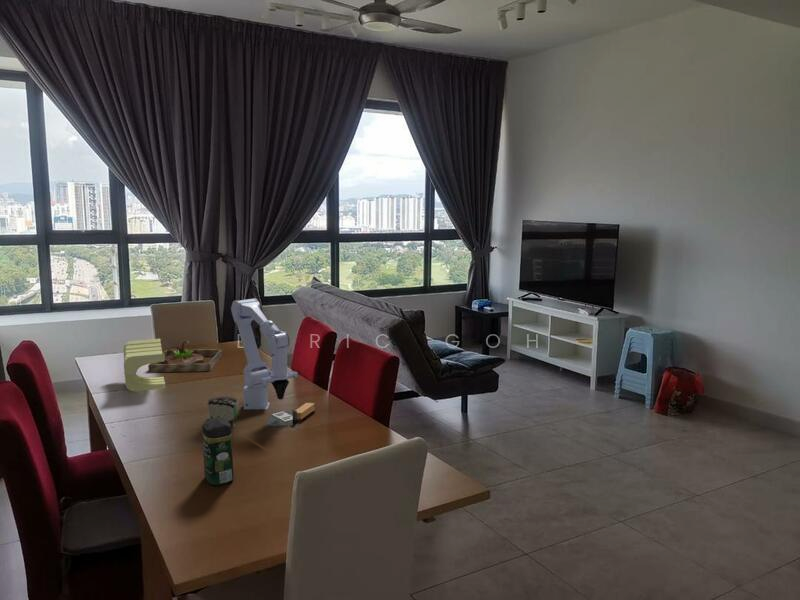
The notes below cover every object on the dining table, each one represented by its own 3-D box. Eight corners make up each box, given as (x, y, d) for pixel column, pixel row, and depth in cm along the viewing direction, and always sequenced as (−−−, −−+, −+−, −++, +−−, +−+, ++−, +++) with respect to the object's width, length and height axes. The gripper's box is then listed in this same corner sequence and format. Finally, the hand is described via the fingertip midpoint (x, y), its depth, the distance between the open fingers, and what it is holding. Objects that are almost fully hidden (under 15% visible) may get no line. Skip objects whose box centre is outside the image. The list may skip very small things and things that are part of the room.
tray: (266, 427, 227) (266, 413, 226) (271, 413, 241) (271, 400, 240) (299, 426, 228) (299, 413, 227) (302, 412, 242) (302, 399, 242)
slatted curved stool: (125, 379, 284) (123, 341, 281) (162, 375, 291) (160, 338, 288) (126, 398, 257) (123, 357, 254) (166, 393, 264) (164, 353, 261)
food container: (246, 424, 230) (245, 398, 228) (236, 430, 224) (235, 403, 222) (218, 420, 234) (217, 394, 232) (208, 425, 228) (206, 399, 226)
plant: (211, 363, 313) (210, 341, 311) (173, 370, 300) (172, 348, 298) (193, 355, 327) (192, 335, 326) (156, 362, 314) (155, 341, 312)
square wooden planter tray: (148, 372, 296) (148, 364, 295) (166, 356, 324) (165, 350, 324) (210, 371, 298) (210, 364, 298) (222, 355, 327) (221, 349, 326)
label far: (278, 418, 234) (278, 417, 234) (271, 415, 237) (271, 414, 237) (289, 415, 237) (289, 414, 237) (283, 412, 241) (283, 411, 241)
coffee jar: (201, 476, 187) (198, 417, 184) (227, 470, 191) (225, 413, 188) (210, 488, 179) (207, 428, 176) (236, 482, 183) (234, 423, 180)
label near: (285, 422, 230) (285, 421, 230) (278, 418, 234) (278, 417, 234) (296, 419, 233) (296, 418, 233) (289, 415, 237) (289, 414, 237)
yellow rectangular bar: (301, 419, 231) (301, 413, 231) (293, 418, 232) (293, 411, 232) (315, 409, 242) (315, 403, 242) (307, 408, 243) (307, 402, 243)
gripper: (268, 370, 226) (269, 405, 228) (301, 363, 236) (302, 397, 238) (258, 366, 231) (259, 400, 233) (291, 359, 241) (292, 392, 243)
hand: (280, 398), depth 236 cm, fingers closed
